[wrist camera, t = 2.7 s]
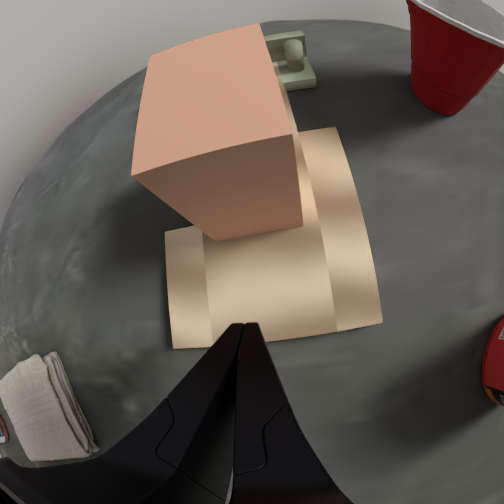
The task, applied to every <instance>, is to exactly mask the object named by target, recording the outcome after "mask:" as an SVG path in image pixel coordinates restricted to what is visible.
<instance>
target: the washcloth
mask: <svg viewBox="0 0 504 504" xmlns="http://www.w3.org/2000/svg"><path fill="white" fill-rule="evenodd" d="M0 397H1V400H2V403H3V406H4V408H5V410H6V411H7V413H8V415H9V418H10V420H11V422H12V424H13V425H14V428H15V429H14V430H15V432H16V435H17V436H18V439H19V441H20V443H21V445H22V447H23V449H24V451H25V453H26V455H27V456H28V458H29V459H30V460H31V461H44V460H46V461H47V460H51V461H53V460H58V459H59V460H61V459H70V458H73V459H74V458H77V459H78V458H83V457H84V458H85V457H87V456H88V457H89V456H90V455H91V454H92V452H97V451H98V450H100V448H99V447H98V446H96V445H95V443H94V442H93V439H94V438H93V435H92V432H91V429H90V427H89V424H88V422H87V420H86V418H85V416H84V414H83V412H82V410H81V408H80V406H79V404H78V402H77V400H76V398H75V396H74V394H73V391H72V388H71V386H70V383H69V381H68V378H67V376H66V373H65V370H64V368H63V365H62V362H61V360H60V358H59V356H58V354H57V353H56V352H51V353H50V354H48V355H46V356H44V358H41V356H39V355H38V354H35V355H33V356H32V357H30V358H29V359H26V360H25V361H22V362H19V363H17V365H16V366H15V367H14V368H13V369H12V370H11V371H10V372H8V373H7V374H6V375H5V376H4V378H3V379H1V380H0Z"/></svg>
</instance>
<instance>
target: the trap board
mask: <svg viewBox="0 0 504 504" xmlns="http://www.w3.org/2000/svg"><path fill="white" fill-rule="evenodd" d="M263 37H264V40H265V43H266V46H267V49H268V52H269V55H270V58H271V61H272V64H273V67H274V71H275V74H276V77H277V80H278V84H279V87H280V91H281V94H282V97H283V101H284V105H285V108H286V112H287V115H288V119H289V123H290V127H291V130H292V135H293V141H294V149H295V156H296V163H297V171H298V179H299V188H300V196H301V205H302V215H303V225H304V226H300V227H294V228H289V229H283V230H277V231H272V232H266V233H260V234H255V235H249V236H244V237H238V238H233V239H227V240H222V241H214V240H213V239H212V238H210V237H209V236H208V235H207V234H205V233H204V232H203V231H201V230H200V229H199V228H197V227H196V226H195V225H194V226H189V227H185V228H180V229H176V230H171V231H167V232H165V253H166V273H167V288H168V301H169V312H170V323H171V332H172V341H173V349H176V348H199V347H211V346H212V345H213V344H214V343H215V342H216V340H217V339H218V338H219V337H220V336H221V335H222V334H223V332H224V331H225V330H226V329H227V328H228V327H229V325H230V324H232V323H244V324H245V323H247V322H258V323H259V326H260V328H261V331H262V334H263V336H264V339H265V342H269V341H277V340H285V339H293V338H300V337H307V336H313V335H320V334H326V333H332V332H337V331H343V330H348V329H354V328H359V327H364V326H369V325H373V324H378V323H383V320H382V312H381V305H380V299H379V292H378V286H377V280H376V275H375V269H374V264H373V259H372V254H371V249H370V245H369V240H368V236H367V231H366V227H365V223H364V219H363V215H362V211H361V207H360V203H359V199H358V196H357V192H356V189H355V185H354V182H353V178H352V175H351V172H350V168H349V165H348V162H347V159H346V156H345V153H344V149H343V146H342V144H341V141H340V138H339V135H338V132H337V129H336V127H331V128H323V129H316V130H309V131H303V132H298V131H297V127H296V124H295V120H294V116H293V113H292V110H291V106H290V103H289V99H288V96H287V93H286V91H292V90H299V89H306V88H313V87H317V83H316V76H315V74H314V72H313V70H312V67H311V65H310V63H309V61H308V59H307V55H306V45H305V36H304V34H303V32H302V31H295V32H288V33H281V34H275V35H269V36H263Z"/></svg>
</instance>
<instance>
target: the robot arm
mask: <svg viewBox="0 0 504 504" xmlns="http://www.w3.org/2000/svg"><path fill="white" fill-rule="evenodd" d="M232 468H233V476H234V477H233V486H232V495H231V499H230V502H229V504H354V503H352V502H351V501H350V500H349V499H348V498H347V497H346V496H345V495H344V494H343V492H342V491H341V490H340V489H339V488H338V487H337V485H336V484H335V483H334V481H333V480H332V478H331V477H330V476H329V474H328V473H327V471H326V470H325V468H324V466H323V465H322V463H321V462H320V460H319V459H318V457H317V456H316V454H315V452H314V451H313V449H312V448H311V446H310V444H309V443H308V441H307V439H306V438H305V436H304V434H303V432H302V431H301V429H300V427H299V425H298V422H297V420H296V418H295V416H294V413H293V411H292V408H291V406H290V403H289V402H288V399H287V396H286V394H285V391H284V388H283V386H282V383H281V381H280V378H279V376H278V373H277V370H276V368H275V365H274V363H273V360H272V357H271V355H270V352H269V350H268V347H267V344H266V342H265V339H264V336H263V334H262V331H261V328H260V326H259V323H258V322H247V323H245V324H244V323H232V324H230V325H229V327H228V328H227V329H226V330H225V331H224V332H223V334H222V335H221V336H220V337H219V338H218V339H217V340H216V342H215V343H214V344H213V345H212V346H211V347H210V349H209V350H208V351H207V352H206V353H205V354H204V355H203V357H202V358H201V359H200V360H199V361H198V362H197V363H196V364H195V366H194V367H193V368H192V369H191V370H190V371H189V372H188V373H187V375H186V376H185V377H184V378H183V379H182V380H181V381H180V382H179V384H178V385H177V386H176V387H175V388H174V389H173V390H172V391H171V392H170V394H169V395H168V396H167V398H165V399H164V400H163V401H162V402H161V403H160V404H159V405H158V406H157V407H156V409H155V410H154V411H153V412H152V413H151V414H150V415H149V416H148V417H147V418H146V419H144V420H143V421H142V422H141V423H140V424H139V425H138V426H137V427H135V428H134V429H133V430H132V431H131V432H130V433H128V434H127V435H126V436H125V437H124V438H122V439H121V440H120V441H119V442H117V443H116V444H115V445H114V446H113V447H111V448H110V449H109V450H107V451H106V452H105V453H103V454H101V455H100V456H98V457H96V458H93V459H90V460H86V461H81V462H76V463H70V464H64V465H57V466H49V467H41V468H27V467H23V466H22V465H20V464H19V463H17V462H16V461H14V460H13V459H11V458H10V457H3V458H0V504H225V503H226V502H225V501H226V498H227V493H228V488H229V483H230V478H231V473H232Z"/></svg>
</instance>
